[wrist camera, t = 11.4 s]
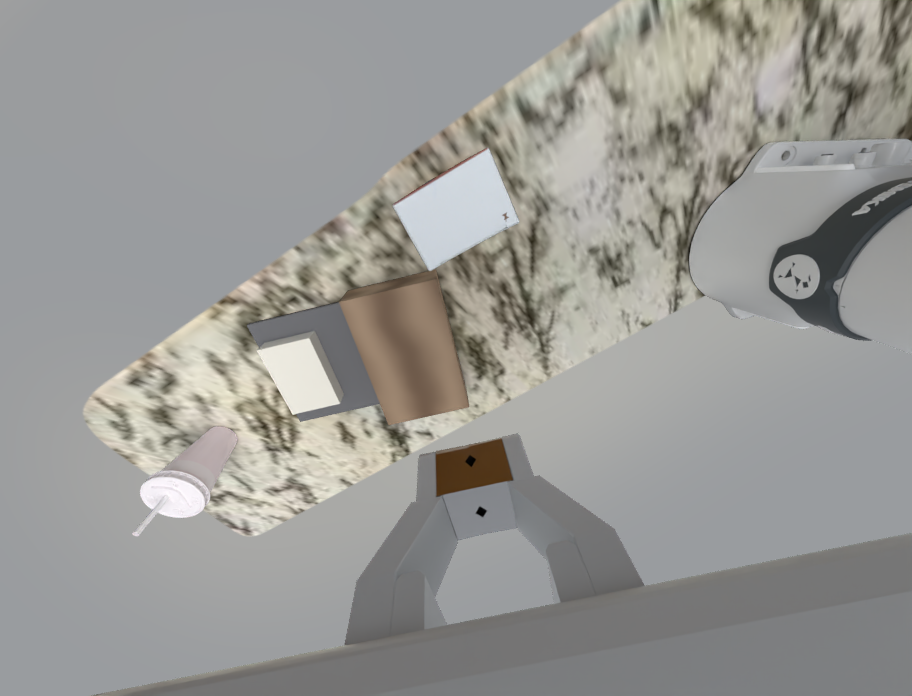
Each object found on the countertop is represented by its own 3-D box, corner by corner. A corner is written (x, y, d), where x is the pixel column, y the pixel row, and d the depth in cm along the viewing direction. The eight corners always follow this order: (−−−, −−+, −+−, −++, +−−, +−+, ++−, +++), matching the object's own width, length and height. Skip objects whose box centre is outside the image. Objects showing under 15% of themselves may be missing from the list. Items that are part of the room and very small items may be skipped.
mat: (351, 299, 37) (350, 300, 37) (389, 399, 44) (389, 401, 43) (248, 323, 38) (246, 325, 37) (301, 419, 44) (300, 421, 44)
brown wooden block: (436, 269, 36) (436, 279, 33) (466, 388, 44) (469, 407, 40) (347, 290, 37) (338, 302, 33) (392, 405, 44) (388, 425, 40)
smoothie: (218, 409, 43) (129, 504, 30) (259, 440, 45) (192, 539, 33) (185, 434, 44) (87, 534, 31) (226, 462, 46) (151, 565, 34)
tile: (256, 350, 37) (264, 342, 38) (292, 414, 41) (298, 404, 42) (309, 338, 36) (314, 330, 38) (340, 403, 40) (343, 394, 42)
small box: (473, 154, 32) (491, 143, 22) (497, 210, 34) (523, 221, 25) (401, 197, 33) (389, 204, 24) (429, 248, 35) (428, 273, 26)
